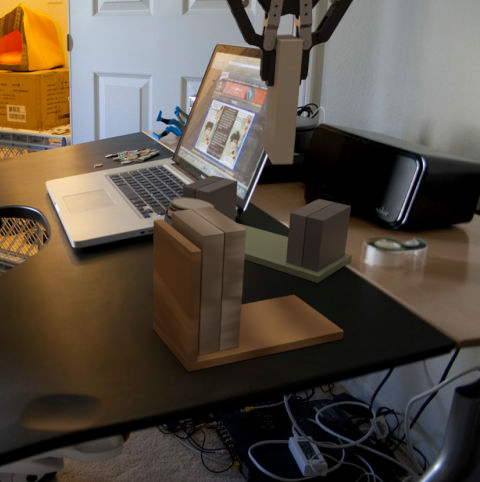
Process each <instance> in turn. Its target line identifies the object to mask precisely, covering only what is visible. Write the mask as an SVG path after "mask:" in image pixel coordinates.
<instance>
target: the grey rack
mask: <svg viewBox="0 0 480 482" xmlns="http://www.w3.org/2000/svg"><path fill="white" fill-rule="evenodd" d="M237 196H238V180H236V179H230V178H227V177H226V178H225V177H222V176H217V175H210V176H208V177H205V178H202V179H199V180H195V181H193V182H191V183H187V184H185V185H183V186H182V198H194V199H199V200H203V201H206V202H209V203H211V204H212V205H213V206H214V209H216V210H217V211H219V212H220V213H222V214H223V215H225V216H226V217H228V218H230V219H231V220H233V221H234V222H236V215H237V214H236V213H237V198H238V197H237ZM351 209H352V205H347V204H343V203H339V202H334V201H330V200H325V199H321V198H318V199H315V200H313V201H312V202H309V203H307V204H305V205H303V206H301V207H299V208H296V209H295V210H293V211H291V212H289V222H288V223H289V224H288V233H287V234H288V235H287V236H285V235H281V234H278V233H274V232H270V231H267V230H263V229H259V228H256V227H253V226H249V225H245V224H241V223H238V222H236V223H237V224H239V225H240V226H242V227H243V228H245V229H246V241H245V257H244V261H248V262H250V263H253V264H257V265H261V266H263V267H265V268H266V267H267V268H269V269H273V270H276V271H279V272H282V273H286V274H288V275H291V276H295V277H297V278H301V279H304V280H307V281H310V282H313V283H317V284H318V283H320V282H322V281H323V280H324V279H326V278H327V277H329V276H331V275H333V274H334V273H335V272H337V271H339V270H340V269H343V268H344V267H345V266H346V265H348V264H349V263H351V262H352V258H353V255H352V254H350V253H347V252H346V249H347V241H348V233H349V225H350V217H351Z"/></svg>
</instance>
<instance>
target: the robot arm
mask: <svg viewBox="0 0 480 482" xmlns="http://www.w3.org/2000/svg"><path fill="white" fill-rule="evenodd" d="M256 1H257V3H258V4H259V6H260V7H261V9H262V10H263V11H264V13H263V20H262V30H261V34H259V33H257V32H256V30H255V28H254V26H253V24H252V21H251V19H250V17H249V15H248V13H247V11H246V8H247V7H248V6H249V4H250V0H225V2H226V4H227V7H228V9H229V11H230V13H231V15H232V17H233V19H234V21H235V23H236V25H237V27H238V30H239V32H240V34H241V36H242V38H243V40H244V42H245V43H246V44H247V45H249V46H254V47H256V48H259V50H260V61H259V62H260V63H259V77H260V80H261V81H262V82H264V84H265V86H266V87H267V86H274V78H275V64H276V51H275V50H274V49H275V42H276V36H277V35H278V29H279V27H280V23H281V17H284V16H287V15H292V16H293V17H294V18H293V22H294V29H295V30H294V31H295V37H297V38H299V39H302V40H303V49H302V61H301V73H300V85H299V87H300V86H302V81H306V80H307V78H308V76H309V68H310V58H311V51H312V49H313V48H314V47H315V46H317V45H321V44H323V43H324V44H325V43H327V42H328V41H329V40H330V39H331V37H332V36H333V34H334V32H335V31H336V29H337V27H338V26H339V24H340V23H341V22H342V20H343V17H344V16H345V14H346V13H347V11H348V10H349V8H350V6H351V5H352V3H353V1H354V0H328V3H330V5H329V7H328V8H327V10H326V13H325V14H324V16H323V17H322V19H321V20H320V22H319V24H318V25H317V27H316V29H315V30H314V31H313V30H312V27H313V10H314V8H315V7H316V6H317V4H318V3H319V2H320V0H256Z"/></svg>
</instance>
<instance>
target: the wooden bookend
mask: <svg viewBox="0 0 480 482" xmlns="http://www.w3.org/2000/svg"><path fill="white" fill-rule="evenodd" d="M237 223H238V222H236V221H235V222H234V221H233V220H231V219H230V218H228V217H226V216H225V215H223V214H222V213H220V212H219V211H217V210H216V209H214V208H213V207H211V206H210V207H203V208H196V209H192V210H191V209H189V210H182V211H175V212H172V219H171V226H170V225H169V224H168V223H166V222H165V221H164V218H163V219H162V218H160V219H154V220H153V275H152V276H153V279H152V281H153V283H152V284H153V285H152V287H153V289H152V291H153V292H152V293H153V294H152V296H153V297H152V299H153V300H152V301H153V302H152V303H153V307H152V320H153V321H152V329H153V331H154V332H155V333H156V334H157V336H158V337H159V338H160V339H161V341H162V342H163V343H164V344H165V345H166V347H167V348H168V349H169V350H170V351H171V353H172V354H173V355H174V356H175V358H176V359H177V360H178V361H179V363H180V364H181V365H182V366H183V368H184V369H185V370H186V371H187V372H188V373H189V372H194V371H200V370H204V369H209V368H213V367H218V366H223V365H227V364H232V363H237V362H242V361H246V360H251V359H255V358H260V357H265V356H269V355H273V354H278V353H284V352H287V351H292V350H298V349H302V348H306V347H312V346H316V345H321V344H325V343H330V342H334V341H338V340H343V339H344V333H345V331H344V330H343V329H342V328H341V327H339V326H338V325H337V324H336V323H334V322H332V321H331V320H329V319H328V318H327V317H326V316H324V315H323V314H322V313H320V312H319V311H317V310H316V309H315V308H313V307H312V306H310V305H309V304H308V303H306V302H305V301H304V300H303V299H301V298H299V297H298V296H297V295H295V294H290V295H285V296H279V297H274V298H269V299H264V300H258V301H254V302H247V303H243V304H242V302H243V301H242V300H243V289H244V288H243V287H244V272H245V271H244V270H245V260H244V257H245V241H246V229H245V228H243V227H242V226H240V225H239V224H240V223H238V224H237Z"/></svg>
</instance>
